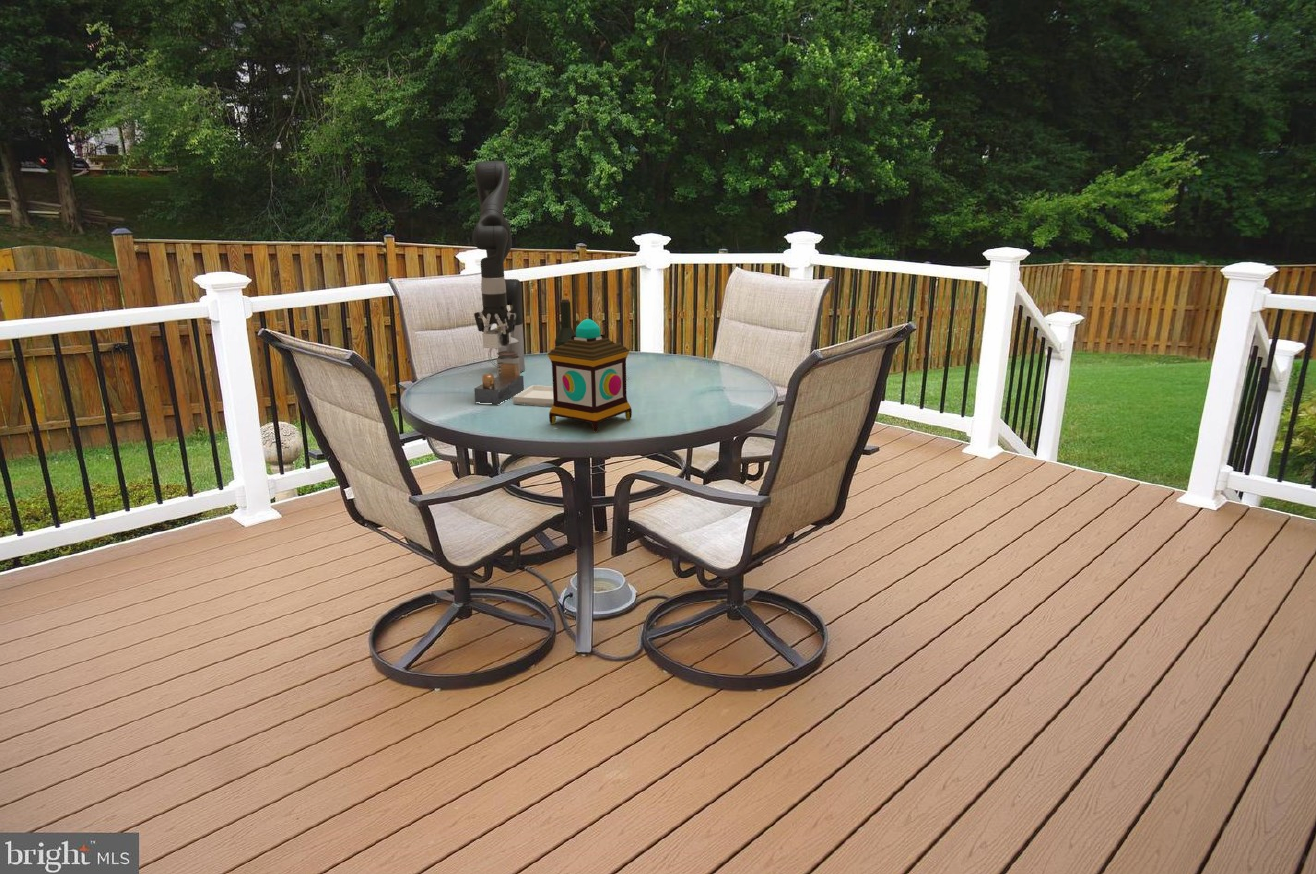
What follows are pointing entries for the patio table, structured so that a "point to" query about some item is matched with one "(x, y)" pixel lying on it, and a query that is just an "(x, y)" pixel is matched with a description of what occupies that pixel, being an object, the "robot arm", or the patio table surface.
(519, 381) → the plane body
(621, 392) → the decorative lantern
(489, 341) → the lever cap
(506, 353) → the french press
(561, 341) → the wine bottle
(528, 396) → the tray
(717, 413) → the patio table surface
